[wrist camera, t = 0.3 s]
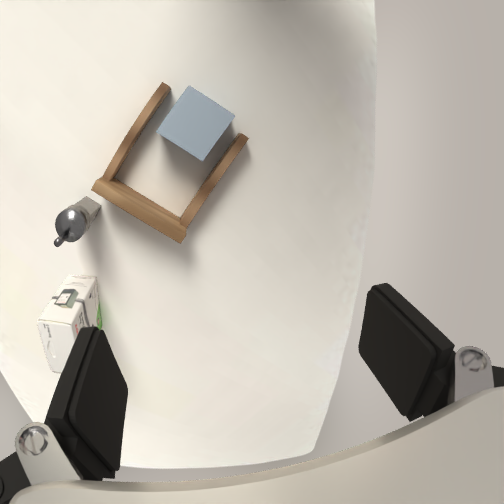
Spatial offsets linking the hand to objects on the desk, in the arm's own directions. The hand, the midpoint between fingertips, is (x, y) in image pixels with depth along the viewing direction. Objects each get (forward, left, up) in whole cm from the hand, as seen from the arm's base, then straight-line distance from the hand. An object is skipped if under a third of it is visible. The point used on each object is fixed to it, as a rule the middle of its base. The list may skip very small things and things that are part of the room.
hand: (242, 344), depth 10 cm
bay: (-3, -4, -29) cm, 30 cm away
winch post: (+3, -15, -29) cm, 33 cm away
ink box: (+17, -17, -30) cm, 38 cm away
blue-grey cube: (-8, -2, -30) cm, 31 cm away
